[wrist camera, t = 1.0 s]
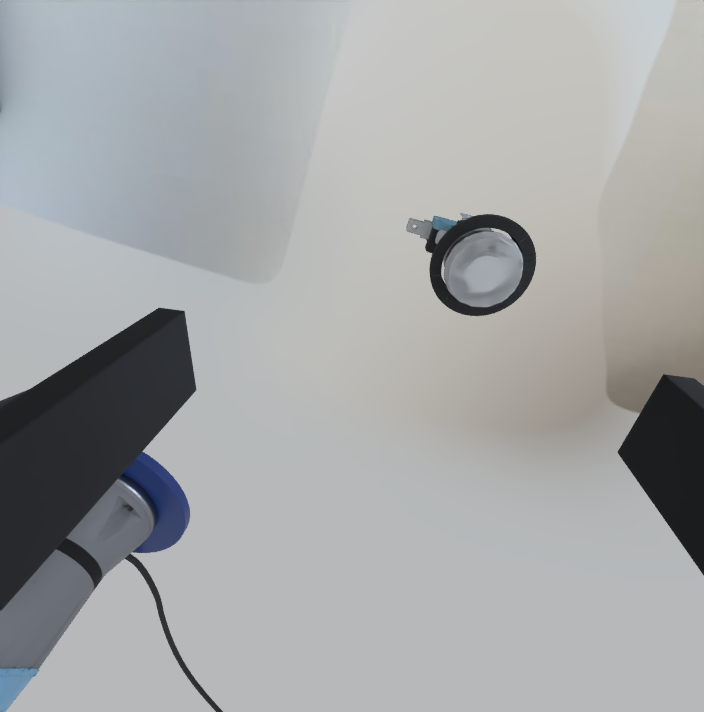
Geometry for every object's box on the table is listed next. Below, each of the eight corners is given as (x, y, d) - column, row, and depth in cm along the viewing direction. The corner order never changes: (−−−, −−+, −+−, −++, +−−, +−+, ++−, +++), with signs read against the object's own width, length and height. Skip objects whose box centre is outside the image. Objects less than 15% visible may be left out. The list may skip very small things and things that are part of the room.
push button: (397, 255, 29) (393, 301, 20) (419, 182, 26) (426, 197, 17) (480, 278, 29) (512, 334, 20) (511, 207, 26) (563, 235, 17)
